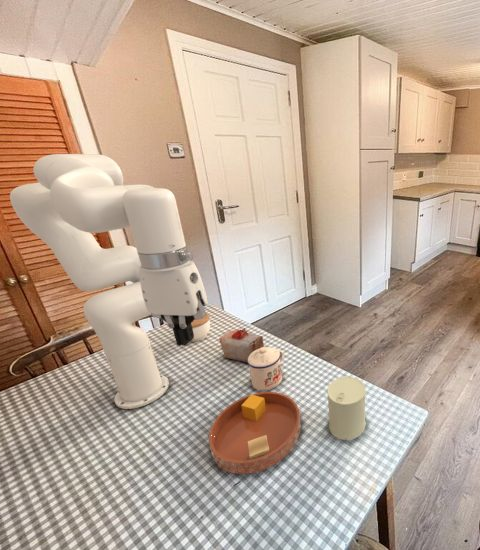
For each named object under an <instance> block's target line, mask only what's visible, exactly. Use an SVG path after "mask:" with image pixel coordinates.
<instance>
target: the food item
mask: <svg viewBox="0 0 480 550" xmlns="http://www.w3.org/2000/svg"><path fill="white" fill-rule="evenodd" d="M218 338H219V344H220V348H221V350H222V353H223V357H224V359H230V360H235V361H240V362H242V363H243V362H244V363H248V362H247V360H248V357H249V355H250V354H251V353H252V352H254V351H255V350H257V349H260V348H262V347H265V345H264V339H263V335H258V334H254V333H251V332H248V331H246V327H243V329H238V330H234V329H233V330H228V331H226V332H224V333H223V334H222V335H221V336H220V337H218Z"/></svg>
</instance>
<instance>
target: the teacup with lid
mask: <svg viewBox="0 0 480 550" xmlns="http://www.w3.org/2000/svg"><path fill="white" fill-rule="evenodd" d="M283 359H284V352H283V350H281V349H277V348H274V347H271V346H266V347H265V346H264V347H262V348H260V349H257V350H255V351H254V352H252V353H251V354H250V355H249V357H248V360H247V362H246V363H247V365H248V368H249V369H248V370H249V374H250V380H251V386H252V387H253V388H254V389H256V390H259V391H268V390H271V389H274V388H275V387H277V386H278V385H280V384H281V382H282V380H283V373H282V365H281V363H282V361H283Z"/></svg>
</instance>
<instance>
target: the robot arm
mask: <svg viewBox="0 0 480 550" xmlns="http://www.w3.org/2000/svg"><path fill="white" fill-rule="evenodd" d="M33 175H34V177H35V179H36V180H37V181H38V182H31V183H25V184H21V185H19V186H17V187H15V188H14V189H12V190H11V192H10V194H9V200H10V204H11V206H12V208H13V211H14V212H15V214H16V216H17V217H18V218H19V220H20V221H21V222H22V223H23V225H24V226H25V227H26V228H27V229H28V230H29V231H30V232H32V234H34V235H35V236H36V237H38V238H39V239H40V240H41V241H43V242H44V243H45V244H46V245H47V246H48V247H49V249H50V250H51V251H52V253H53V255H54V257H55V258H56V259H57V261H58V263H59V264H60V265H61V267H62V269H63V270H64V272H65V273H66V275H67V276H68V278H69V279H70V281H71V282H72V283H73V285H74V286H75V287H76V288H77V289H79V290H81V291H82V292H94V291H99V290H103V289H107V288H109V287H114V286H118V285H120V284H121V285H122V284H124V283H126V282H131V283H129V284H126V285H123V286H119V287H115V288H112V289H109V290H106V291H101V292H100V293H97V294H95V295H93V296H91V297H90V298H89V299H87V300H86V301H85V303H84V304H83V307H82V311H83V314H84V317H85V319H86V320H87V322H88V323H89V325H90V326H91V328H92V329H93V331H94V333H95V334H96V336H97V339H98V340H99V343H100V345H101V347H102V350H103V353H104V355H105V358H106V360H107V363H108V366H109V368H110V371H111V374H112V376H113V379H114V382H115V384H116V387H117V390H118V391H117V392H116V394H115V396H114V403H115V405H116V407H118V408H119V409H123V410H133V409H138V408H141V407H144V406H147V405H150V404H151V403H153V402H155V401H157V400H158V399H159V398H161V397H162V396H163V395H164V394H165V393H166V392H167V390H168V389H169V387H170V381H169V378H168V377H167V376H166V375H163V374H160V371H159V367H158V364H157V360H156V357H155V354H154V351H153V347H152V344H151V342H150V338H149V335H148V333H147V332H146V331H145V330H144V329H143V328H141V327H139V326H137V325H134V323H136V322H137V321H140V320H141V319H145V318H147V317H150V316H151V317H153V318H156V319H161V320H163V322H165V323H166V324H167V327H168V328H169V329H172V332H173V335H174V339H175V342H176V346H178V347H179V346H183V347H187V345H188V344H190V342H191V340H192V339H193V338H194V333H193V329H192V325H191V323H192V322H193V321H194V320H198V319H202V318H204V317H205V316H206V313H207V311H206V310H205V307H206V306H207V305H208V302H209V301H208V296H207V292H206V289H205V288H206V287H205V286H204V283H203V279H202V277H201V274H200V272H199V269H198V267H197V266H196V264H195V262H194V261H192V260H193V259H194V254H193V252H189V251H188V248H187V244H186V240H185V234H184V231H183V227H182V223H181V222H182V221H181V218H180V214H179V208H178V205H177V200H176V196H175V195H174V193H173V192H172V191H171V190H170V189H168V188H161V187H154V186H152V185H149V184H140V183H139V184H125V185H124V174H123V171H122V169H121V168H120V166H119V165H118V163H117V162H116V161H115V160H114V159H112V158H110V157H109V156H107V155H104V154H99V153H86V154H85V153H54V154H48V155H47V154H46V155H44V156H42V157H40V158H38V159H37V160H36V162H35V163H34V165H33ZM127 228H130V232H131V235H132V238H133V242H134V246H133V245H119V246H115V247H110V248H103V247H101V246H100V244H99V243H98V241H97V240H96V238H95V236H94V235H93V234H100V233H105V232H106V233H107V232H111V231H117V230H123V229H127Z"/></svg>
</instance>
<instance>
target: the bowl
mask: <svg viewBox="0 0 480 550" xmlns="http://www.w3.org/2000/svg"><path fill="white" fill-rule="evenodd" d="M251 394H252V395H255V396H259V397H262V398H264V399H265V406H266V410H265V412H264V413H263V414H262V415H261V417H260V418H259V419H258V420H257V421H254V420H251V419H247V418H244V417H243V412H242V407H241V405H242V404H243V403H244V402H245V401H246V400H247V399H248V398H249V397H250V395H251ZM251 394H247V395H245V396H244V397H241V398H238V399H237V400H235V401H234V402H232V403H231V404H229V405H228V406H227V407H225V409H223V410H222V411H221V412H220V413H219V414H218V416H217V417H216V418H215V420H214V421H213V423H212V425H211V427H210V430H209V434H208V443H209V449H210V453H211V455H212V458H213V461H214V463H215V464H216V465H217V466H218V467H219V468H220V469H221V470H223V471H224V472H227V473H231V474H236V475H251V474H255V473H260V472H262V471H265V470H267V469H270V468H271V467H273V466H275V465H277V464H278V463H279V462H281V461H282V460H283V459H284V458H285V457H287V455H288V454H289V453H290V452H291V451H292V450H293V449H294V447H295V445H296V444H297V442H298V441H299V440H298V439H299V437H300V435H301V434H300V433H301V428H302V425H301V414H300V409H299V407H298V404H297V403H296V401H295V400H294V399H293V398H291V397H290V396H288V395H287V394H283V393H282V392H276V391H261V392H256V393H251ZM265 435H266V436H267V441H268V446H269V452H270V453H269V454H266V455H264V456H261V457H259V458H255V459H251V460H250V457H249V449H248V441H250V440H253V439H256V438H259V437H262V436H265Z"/></svg>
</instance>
